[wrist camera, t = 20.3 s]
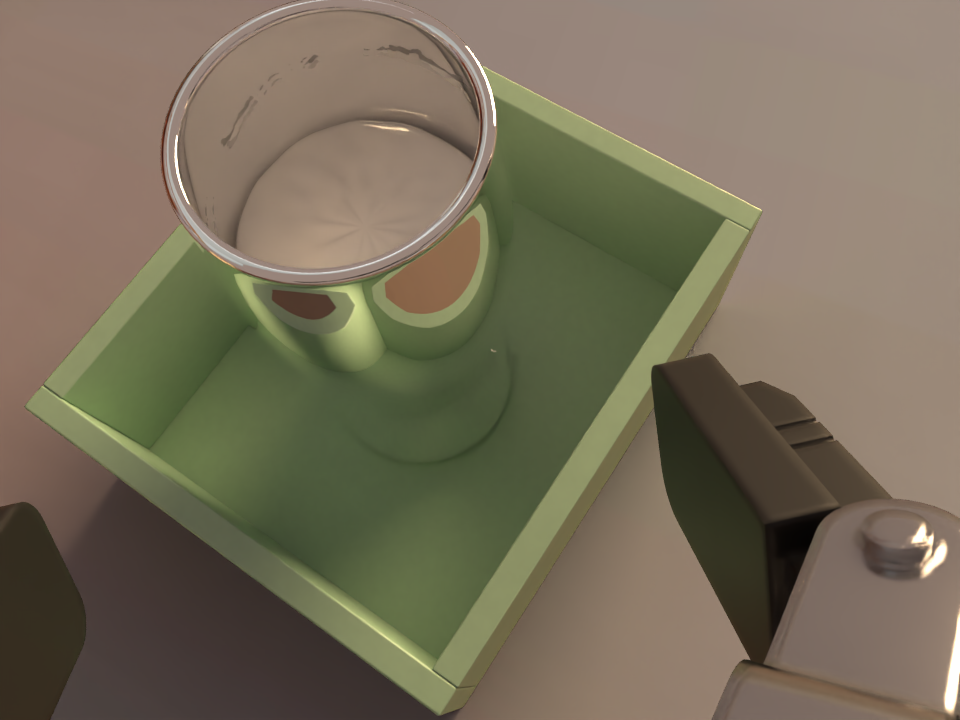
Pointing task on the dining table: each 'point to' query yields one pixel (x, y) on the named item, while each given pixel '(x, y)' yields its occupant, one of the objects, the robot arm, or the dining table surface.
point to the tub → (403, 485)
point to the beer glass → (356, 211)
